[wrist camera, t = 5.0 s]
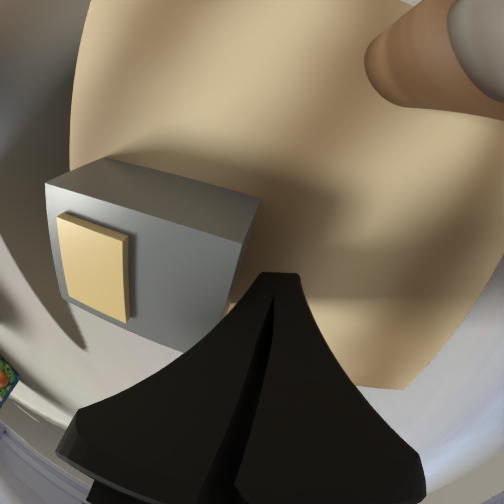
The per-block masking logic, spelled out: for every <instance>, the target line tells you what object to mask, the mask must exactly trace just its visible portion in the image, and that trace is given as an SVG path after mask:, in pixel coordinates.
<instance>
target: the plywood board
mask: <svg viewBox="0 0 504 504" xmlns="http://www.w3.org/2000/svg"><path fill="white" fill-rule="evenodd" d="M412 8H413V6H411V5H409V4H406V3H404V2H402V1H400V0H91V3H90V7H89V10H88V14H87V18H86V22H85V26H84V30H83V34H82V38H81V43H80V48H79V53H78V59H77V65H76V72H75V80H74V87H73V96H72V107H71V123H70V171H72V170H74V169H76V168H79V167H81V166H83V165H86V164H88V163H90V162H93V161H95V160H98V159H100V158H108V159H112V160H117V161H121V162H126V163H130V164H134V165H139V166H143V167H147V168H151V169H155V170H159V171H163V172H167V173H171V174H175V175H179V176H183V177H186V178H190V179H194V180H198V181H201V182H205V183H209V184H212V185H216V186H219V187H223V188H226V189H230V190H233V191H236V192H240V193H243V194H247V195H250V196H253V197H256V198H260V199H261V201H260V205H259V208H258V212H257V215H256V218H255V222H254V225H253V228H252V232H251V235H250V239H249V242H248V245H247V249H246V252H245V256H244V259H243V263H242V266H241V269H240V273H239V276H238V280H237V283H236V286H235V290H234V293H233V297H232V300H231V304H230V306H229V309H228V312H229V311H230V310H231V309H232V308H233V307H234V306H235V304H236V303H237V302H238V301H239V300H240V299H241V297H242V296H243V295H244V294H245V292H246V291H247V290H248V289H249V287H250V286H251V285H252V283H253V282H254V281H255V279H256V278H257V276H258V275H259V274H260V273H261V272H281V273H298V275H299V276H300V278H301V284H302V288H303V291H304V294H305V297H306V300H307V303H308V305H309V308H310V310H311V312H312V314H313V317H314V319H315V321H316V323H317V325H318V327H319V329H320V331H321V333H322V335H323V337H324V339H325V341H326V342H327V344H328V346H329V348H330V349H331V351H332V353H333V354H334V356H335V357H336V359H337V361H338V362H339V364H340V365H341V367H342V368H343V370H344V371H345V372H346V374H347V375H348V377H349V378H350V380H351V381H352V382H353V384H354V385H356V386H364V387H373V388H383V389H395V390H404V389H405V388H406V387H407V386H408V385H409V384H410V383H411V382H412V381H413V380H414V379H415V378H416V376H417V375H418V374H419V373H420V372H421V371H422V370H423V369H424V368H425V367H426V366H427V364H428V363H429V362H430V361H431V360H432V359H433V358H434V356H435V355H436V354H437V353H438V352H439V351H440V349H441V348H442V347H443V346H444V344H445V343H446V342H447V341H448V339H449V338H450V337H451V336H452V334H453V333H454V332H455V330H456V329H457V328H458V326H459V325H460V324H461V322H462V321H463V319H464V318H465V317H466V315H467V314H468V312H469V311H470V309H471V308H472V307H473V305H474V304H475V302H476V300H477V299H478V297H479V296H480V294H481V293H482V291H483V289H484V288H485V286H486V285H487V283H488V281H489V280H490V278H491V276H492V274H493V273H494V271H495V269H496V267H497V265H498V264H499V262H500V260H501V258H502V256H503V254H504V121H501V120H497V119H492V118H487V117H482V116H476V115H470V114H464V113H457V112H450V111H442V110H433V109H422V108H408V107H401V106H398V105H395V104H393V103H391V102H389V101H387V100H386V99H384V98H383V97H382V96H381V95H380V94H379V93H378V92H377V91H376V90H375V89H374V88H373V86H372V85H371V83H370V81H369V79H368V77H367V74H366V71H365V65H364V58H365V53H366V50H367V48H368V46H369V44H370V43H371V42H372V41H373V40H374V39H375V38H376V37H377V36H379V35H380V34H381V33H382V32H383V31H385V30H386V29H387V28H388V27H389V26H391V25H392V24H393V23H394V22H395V21H397V20H398V19H399V18H400V17H402V16H403V15H404V14H405V13H407V12H408V11H409V10H410V9H412ZM228 312H227V314H228Z"/></svg>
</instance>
